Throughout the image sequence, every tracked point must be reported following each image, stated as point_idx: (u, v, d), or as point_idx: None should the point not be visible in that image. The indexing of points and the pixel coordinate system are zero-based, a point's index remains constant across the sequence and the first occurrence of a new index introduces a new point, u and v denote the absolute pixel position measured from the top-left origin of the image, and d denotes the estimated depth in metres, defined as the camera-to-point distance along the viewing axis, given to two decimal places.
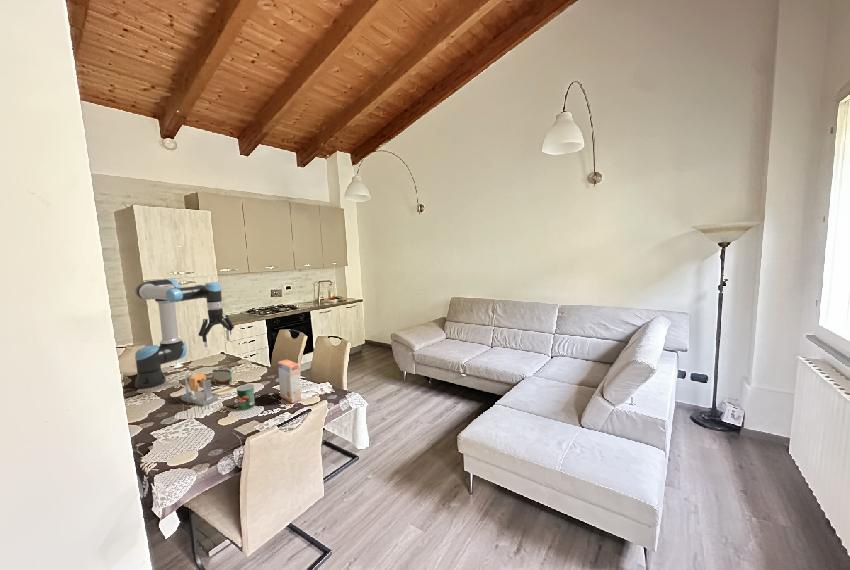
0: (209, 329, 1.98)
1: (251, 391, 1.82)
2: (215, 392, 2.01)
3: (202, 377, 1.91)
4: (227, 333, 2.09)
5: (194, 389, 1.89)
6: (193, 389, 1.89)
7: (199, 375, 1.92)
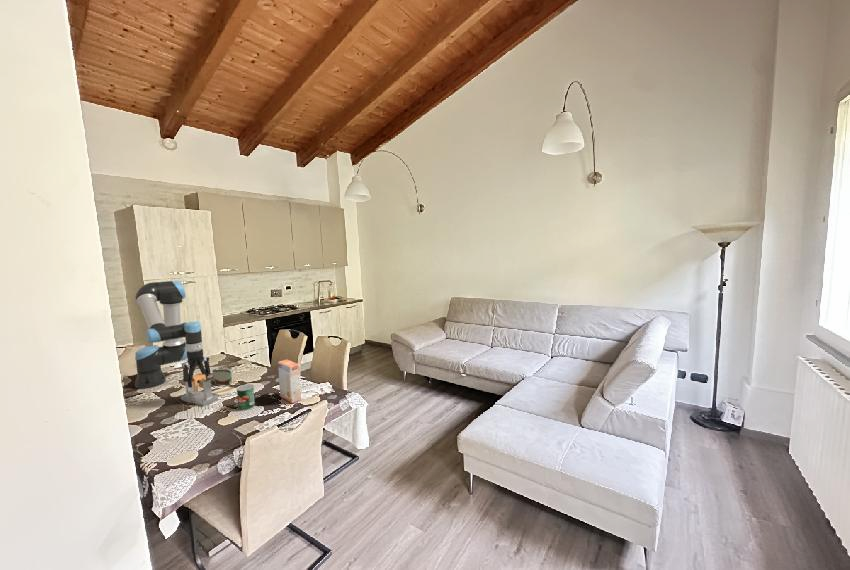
0: (192, 373, 1.88)
1: (251, 391, 1.82)
2: (215, 392, 2.01)
3: (202, 377, 1.91)
4: None
5: (194, 389, 1.89)
6: None
7: (199, 375, 1.92)
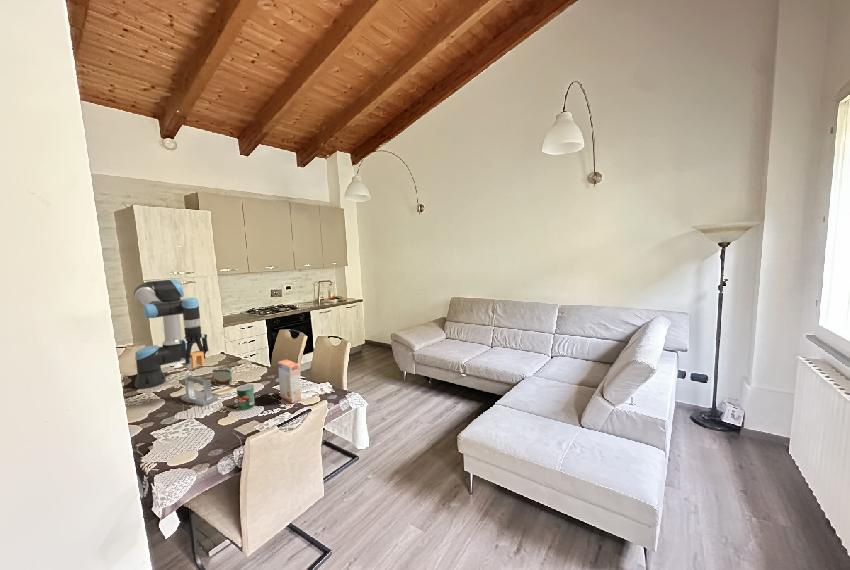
0: (190, 349, 1.86)
1: (251, 391, 1.82)
2: (215, 392, 2.01)
3: (200, 354, 1.90)
4: None
5: (192, 366, 1.87)
6: None
7: (197, 352, 1.90)
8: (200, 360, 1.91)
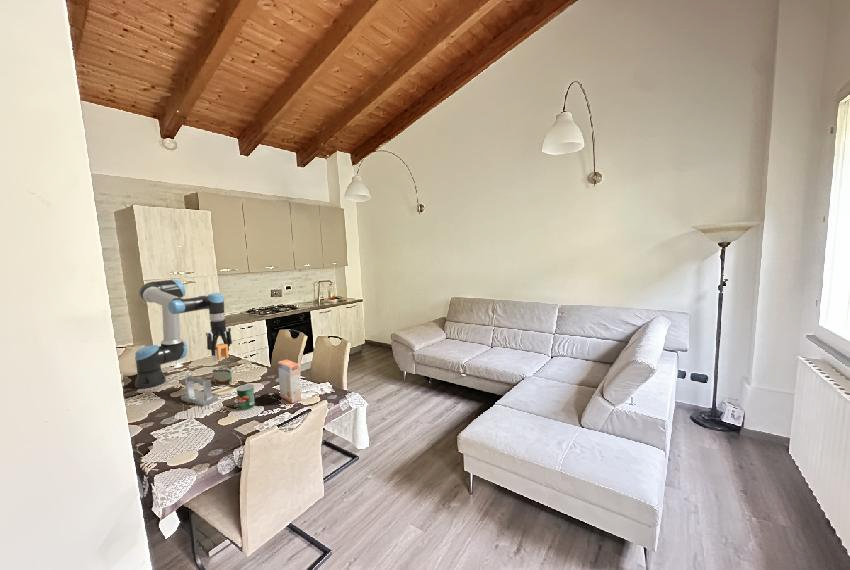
0: (215, 342, 1.97)
1: (251, 391, 1.82)
2: (215, 392, 2.01)
3: (224, 346, 2.00)
4: None
5: (217, 357, 1.98)
6: None
7: (221, 344, 2.01)
8: (224, 352, 2.02)
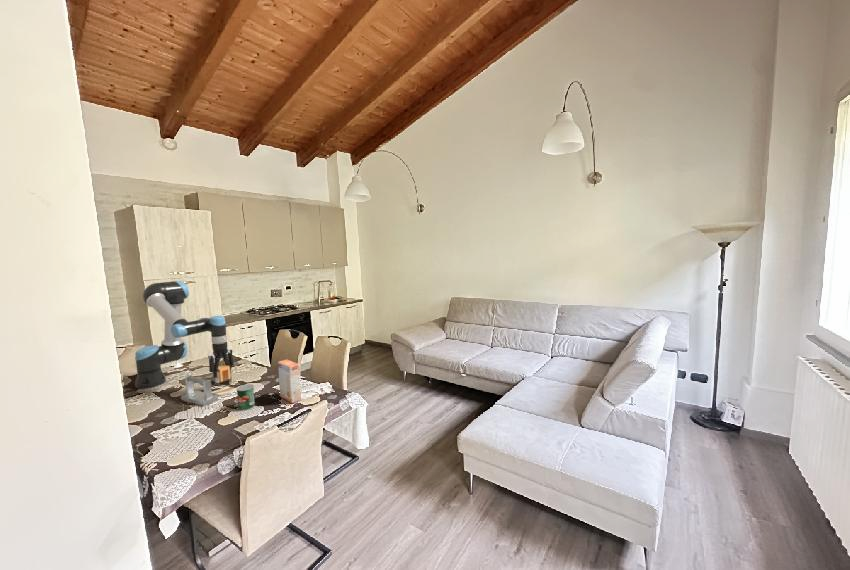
0: (217, 364, 1.98)
1: (251, 391, 1.82)
2: (215, 392, 2.01)
3: (226, 368, 2.02)
4: None
5: (219, 379, 1.99)
6: None
7: (223, 366, 2.03)
8: (226, 374, 2.03)
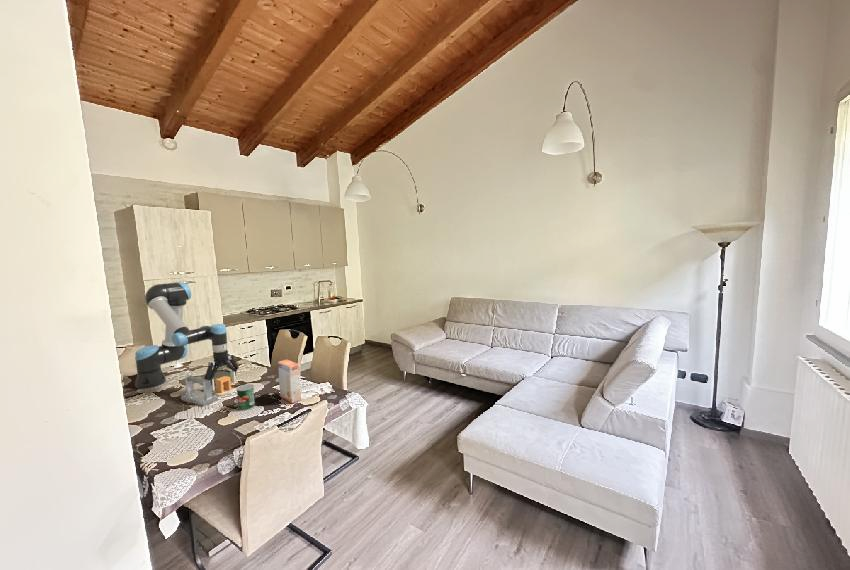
0: (215, 372, 1.97)
1: (251, 391, 1.82)
2: (215, 392, 2.01)
3: (227, 379, 2.03)
4: (232, 374, 2.08)
5: (220, 391, 2.00)
6: (219, 391, 2.00)
7: (224, 377, 2.03)
8: (227, 385, 2.04)
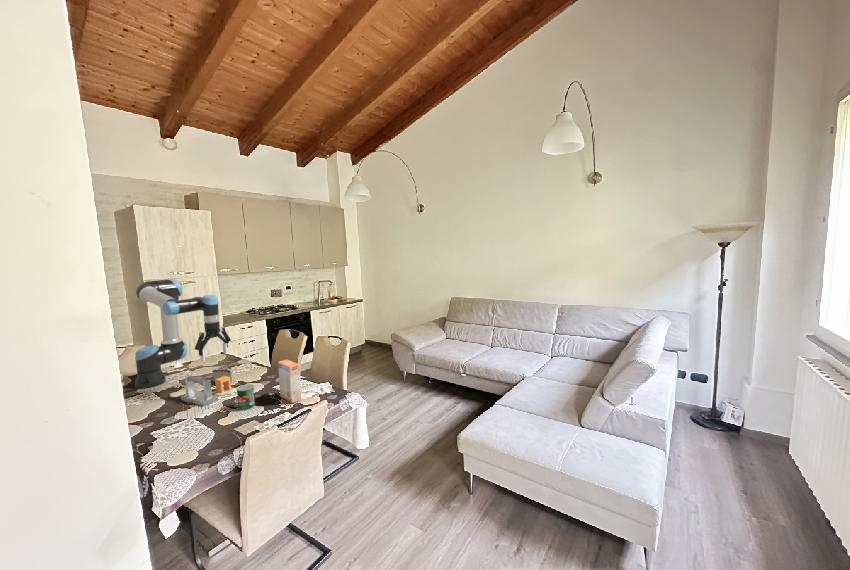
0: (205, 343, 1.96)
1: (251, 391, 1.82)
2: (215, 392, 2.01)
3: (227, 379, 2.03)
4: (224, 346, 2.07)
5: (220, 391, 2.00)
6: (219, 391, 2.00)
7: (224, 377, 2.03)
8: (227, 385, 2.04)
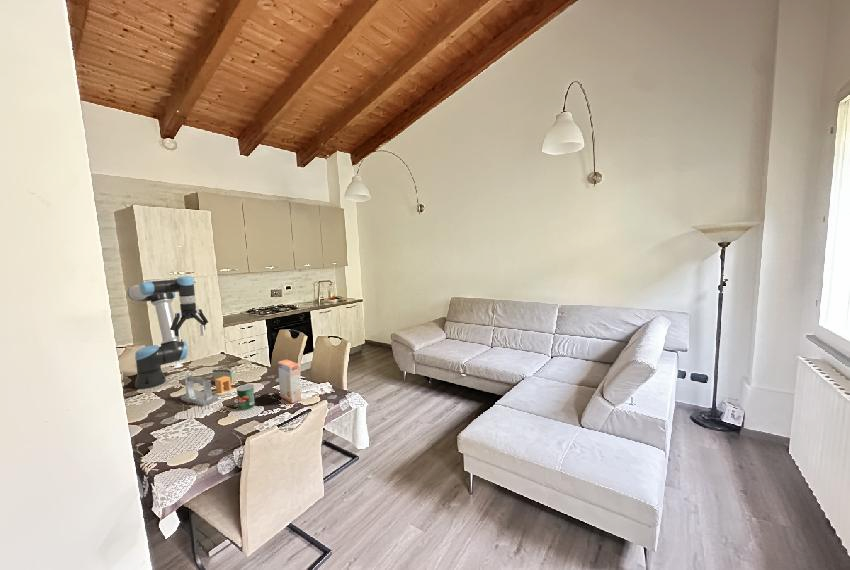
0: (181, 323, 1.97)
1: (251, 391, 1.82)
2: (215, 392, 2.01)
3: (227, 379, 2.03)
4: (201, 328, 2.08)
5: (220, 391, 2.00)
6: (219, 391, 2.00)
7: (224, 377, 2.03)
8: (227, 385, 2.04)
